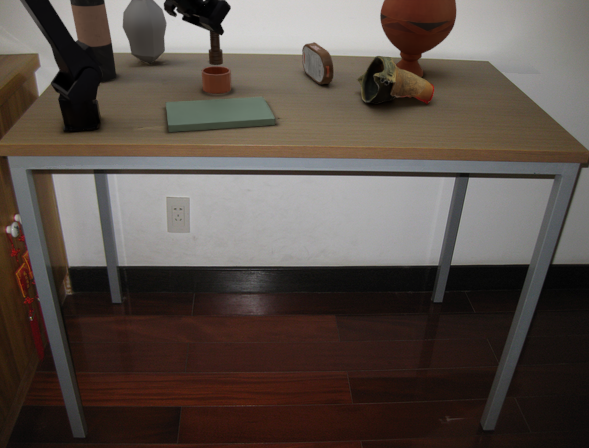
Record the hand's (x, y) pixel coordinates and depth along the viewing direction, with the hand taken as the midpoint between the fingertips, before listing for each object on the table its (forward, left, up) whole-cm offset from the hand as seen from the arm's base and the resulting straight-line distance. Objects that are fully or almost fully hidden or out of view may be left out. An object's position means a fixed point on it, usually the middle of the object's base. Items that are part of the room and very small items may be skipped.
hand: (219, 32), depth 114 cm
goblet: (+52, +5, -14) cm, 54 cm away
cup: (-1, 0, -13) cm, 14 cm away
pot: (+37, -14, -14) cm, 42 cm away
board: (-3, -17, -13) cm, 21 cm away
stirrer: (-1, -1, -7) cm, 7 cm away
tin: (+25, +4, -14) cm, 29 cm away
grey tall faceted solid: (-17, +23, -14) cm, 32 cm away
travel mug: (-29, +13, -14) cm, 35 cm away
